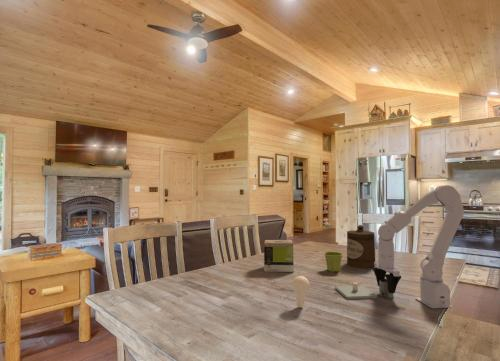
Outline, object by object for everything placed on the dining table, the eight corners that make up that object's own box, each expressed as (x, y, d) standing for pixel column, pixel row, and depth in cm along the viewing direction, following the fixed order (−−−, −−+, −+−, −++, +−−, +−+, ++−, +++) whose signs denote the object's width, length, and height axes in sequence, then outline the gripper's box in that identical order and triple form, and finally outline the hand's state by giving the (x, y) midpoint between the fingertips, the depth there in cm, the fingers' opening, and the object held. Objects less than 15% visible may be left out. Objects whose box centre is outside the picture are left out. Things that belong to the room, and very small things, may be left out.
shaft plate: (377, 298, 114) (377, 287, 114) (347, 299, 113) (347, 288, 113) (362, 287, 126) (362, 278, 126) (335, 288, 125) (335, 279, 125)
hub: (396, 298, 114) (396, 282, 114) (383, 298, 114) (383, 282, 114) (388, 293, 119) (388, 278, 119) (377, 293, 119) (376, 278, 119)
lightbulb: (297, 302, 109) (297, 272, 109) (312, 307, 105) (312, 276, 105) (288, 307, 104) (288, 276, 105) (304, 312, 100) (304, 280, 101)
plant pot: (339, 274, 146) (338, 256, 146) (321, 270, 152) (321, 253, 152) (345, 270, 153) (345, 253, 154) (328, 267, 159) (328, 250, 159)
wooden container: (341, 262, 169) (341, 224, 170) (363, 260, 174) (363, 223, 174) (358, 269, 155) (358, 227, 156) (381, 267, 160) (381, 226, 160)
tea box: (292, 267, 158) (292, 239, 158) (293, 272, 148) (293, 243, 148) (264, 266, 159) (264, 239, 160) (263, 271, 149) (263, 242, 150)
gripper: (367, 251, 124) (367, 283, 123) (386, 259, 109) (386, 296, 109) (383, 250, 124) (383, 283, 124) (404, 259, 110) (404, 295, 110)
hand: (386, 289), depth 116 cm, fingers open, 7 cm apart
